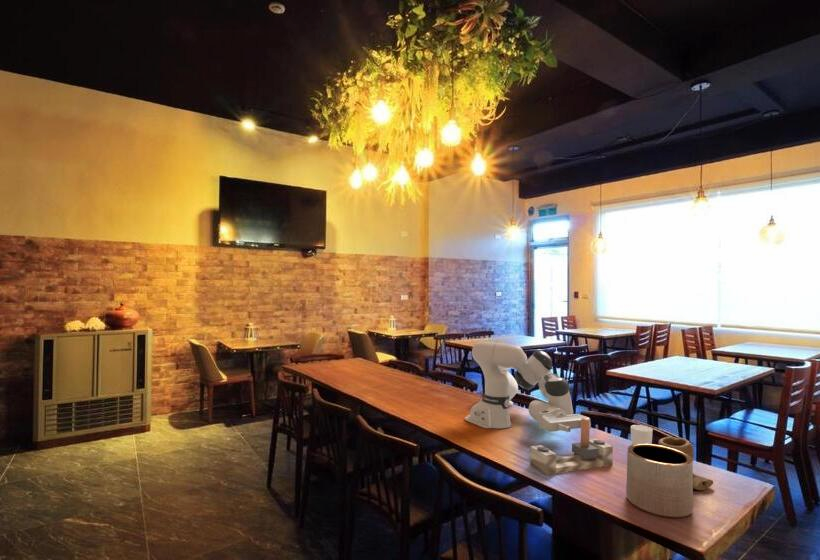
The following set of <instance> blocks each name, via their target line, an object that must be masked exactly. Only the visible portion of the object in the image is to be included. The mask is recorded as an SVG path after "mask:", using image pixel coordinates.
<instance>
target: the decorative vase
mask: <svg viewBox="0 0 820 560" xmlns="http://www.w3.org/2000/svg"><path fill="white" fill-rule="evenodd" d="M498 368H499V370H500V371H501V372H502V373H503V374H504V375H506V377H507V378H508V381H509V391H508V395H509V406H512V405H513V404H514V402H513V401H512V399H513V398H514V397H515V396H516V394H517V393H518V392H519V384H518V382H517V381H516V378H515V377H514V376H513V375H512V373H510V372H509V370H510V369H511V368H506V367H502V366H498Z"/></svg>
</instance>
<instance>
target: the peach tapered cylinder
mask: <svg viewBox="0 0 820 560" xmlns="http://www.w3.org/2000/svg"><path fill="white" fill-rule="evenodd" d="M590 421H591V419H590V420H589V419H587V418H581V428H580V442H573V443H571V452H572V453H573V454H574V455H580V456H581V460H590V459H596V457H598V448H596V447H594V446H592V445H590V444H589V439H590V429H589V428H590V425H591V424H590Z"/></svg>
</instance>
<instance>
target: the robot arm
mask: <svg viewBox="0 0 820 560" xmlns="http://www.w3.org/2000/svg"><path fill="white" fill-rule="evenodd" d="M471 355H472V358H473V361H475V362H476V363H477V364H478V365H479V367H480V368H481V370H482V374H483V377H484V393H482V394H481V395H480V398H481V400H479V401H478V402H477V403H475V404H474V405H473V406H472V407H471V408H470V412H469V414H468V415H466V416H465V417H464V420H465V421H467V422H469V423H471V424H474V425H476V426H479V427H481V428H484V429H507V428H510V427H512V421H511V418H510V417H511V416H510V410H509V407H510V405H509V395H508V391H509V381H508V378H507V377H506V375H504V374H503V373H502V372H501V371H500V370H499V368H498V366H502V367H506V368H510V369H512V370H515V371H514V376H515V377H514V379H515V380H516V382H517V384H518V386H520V387H521V388H523V389H525V390H528V391H529V390H532V389H533V388H535V387H536V385H537V384H538V388H539V391H540V393H541V395H542V396H543V398H545V399H546V400H547V401H548V402H545V401H542V400H536V399H535V400H532V401H531V402H530V403H529V406H528V414H529V416H530V417H531V418H533V419H534V420H535V421H536V422H538V423H537V424H538V429H541V430H544V431H547V432H558V431H561V432H565V433H569V432H571V430H576V429H581V418H587V419H589V420H590V428H589V430H591V429H592V426H591V425H592V424H591V418H590V417H588V416H585V415H583V414H578V413H574V409H573V404H572V398H571V393H570V385H569V382H568V380H567V379H565V378H564V377H561V376H559V375H558V374H557V373H552V372H551V370H553V369H554V367H553V362H552V358H551V357H550V355H549V354H548V353H547V352H545V351H543V350H539V349H537V350H535V351H533V353H532V355H530V357H527V354H526V353H525V352H524V350H523V349H522V347H521V346H519V345H516V344H512V343H504V342H495V341H478V342H476V343H474V345H473V346H472V349H471Z"/></svg>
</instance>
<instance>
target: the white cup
mask: <svg viewBox="0 0 820 560" xmlns="http://www.w3.org/2000/svg"><path fill="white" fill-rule="evenodd" d="M653 430H654V429H653V428H651V427H650V426H646V425H641V424H632V425H630V443H631V445H633V444H653V433H654V432H653Z"/></svg>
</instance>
